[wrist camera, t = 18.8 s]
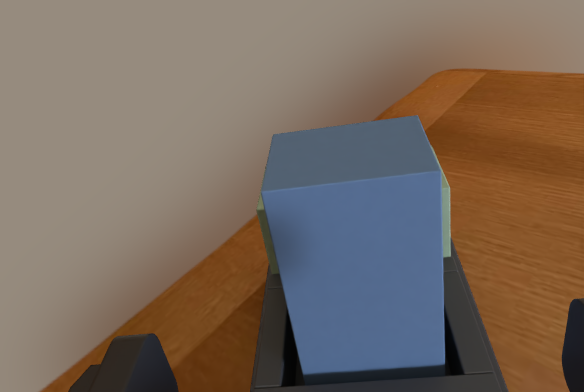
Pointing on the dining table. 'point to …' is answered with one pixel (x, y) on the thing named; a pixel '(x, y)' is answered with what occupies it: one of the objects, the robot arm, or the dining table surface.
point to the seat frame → (450, 388)
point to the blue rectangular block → (359, 249)
